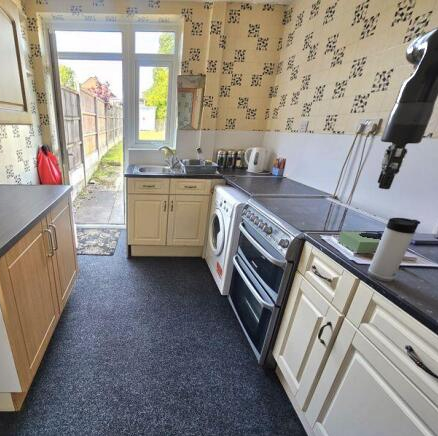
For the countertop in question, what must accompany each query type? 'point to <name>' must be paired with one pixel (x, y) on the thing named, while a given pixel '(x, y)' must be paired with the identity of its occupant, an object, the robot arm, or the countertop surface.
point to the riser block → (358, 242)
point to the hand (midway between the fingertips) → (382, 186)
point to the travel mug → (392, 248)
